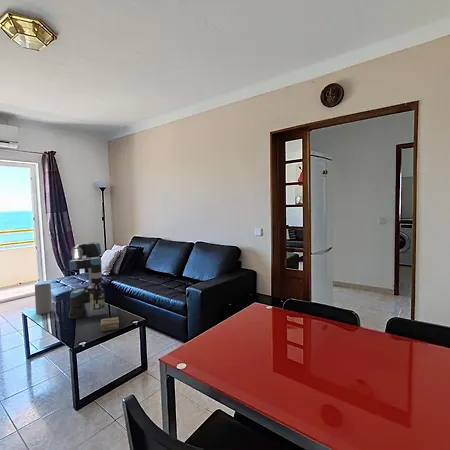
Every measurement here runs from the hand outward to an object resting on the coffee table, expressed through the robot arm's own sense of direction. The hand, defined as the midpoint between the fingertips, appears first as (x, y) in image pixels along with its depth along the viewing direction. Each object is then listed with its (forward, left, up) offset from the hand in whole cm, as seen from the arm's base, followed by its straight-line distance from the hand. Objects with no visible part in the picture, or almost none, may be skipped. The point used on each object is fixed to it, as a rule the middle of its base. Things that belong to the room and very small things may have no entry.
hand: (97, 305), depth 224 cm
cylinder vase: (-67, -49, -20) cm, 85 cm away
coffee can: (0, 0, -3) cm, 3 cm away
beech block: (-4, +8, -20) cm, 22 cm away
